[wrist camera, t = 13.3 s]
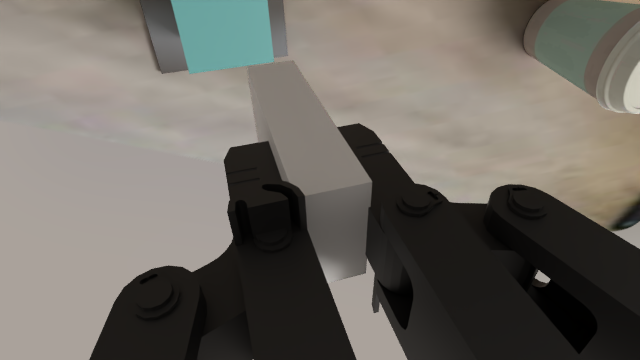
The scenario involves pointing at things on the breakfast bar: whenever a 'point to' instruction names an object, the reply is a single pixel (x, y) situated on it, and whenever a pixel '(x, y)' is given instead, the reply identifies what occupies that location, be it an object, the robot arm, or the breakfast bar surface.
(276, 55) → the grey square base stand
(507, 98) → the breakfast bar surface
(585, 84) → the coffee cup
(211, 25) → the teal rectangular block
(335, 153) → the robot arm
